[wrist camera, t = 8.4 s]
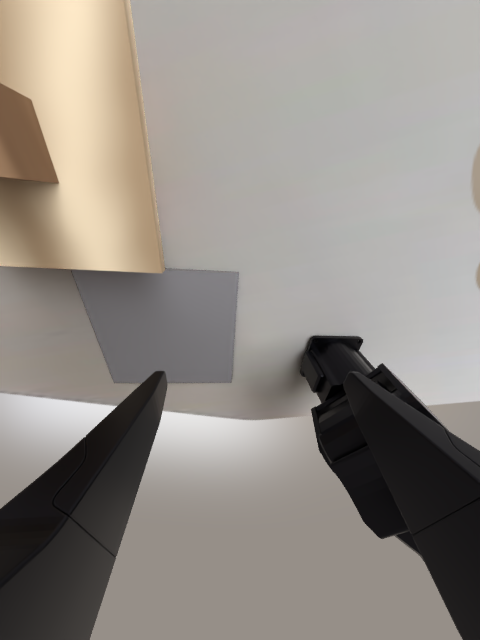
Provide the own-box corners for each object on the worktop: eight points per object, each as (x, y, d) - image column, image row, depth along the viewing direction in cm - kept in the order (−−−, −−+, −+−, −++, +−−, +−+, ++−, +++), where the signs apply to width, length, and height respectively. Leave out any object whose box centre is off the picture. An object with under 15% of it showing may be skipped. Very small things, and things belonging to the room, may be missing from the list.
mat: (238, 272, 19) (238, 273, 18) (231, 379, 27) (231, 382, 26) (72, 263, 18) (69, 265, 17) (116, 379, 25) (114, 382, 25)
